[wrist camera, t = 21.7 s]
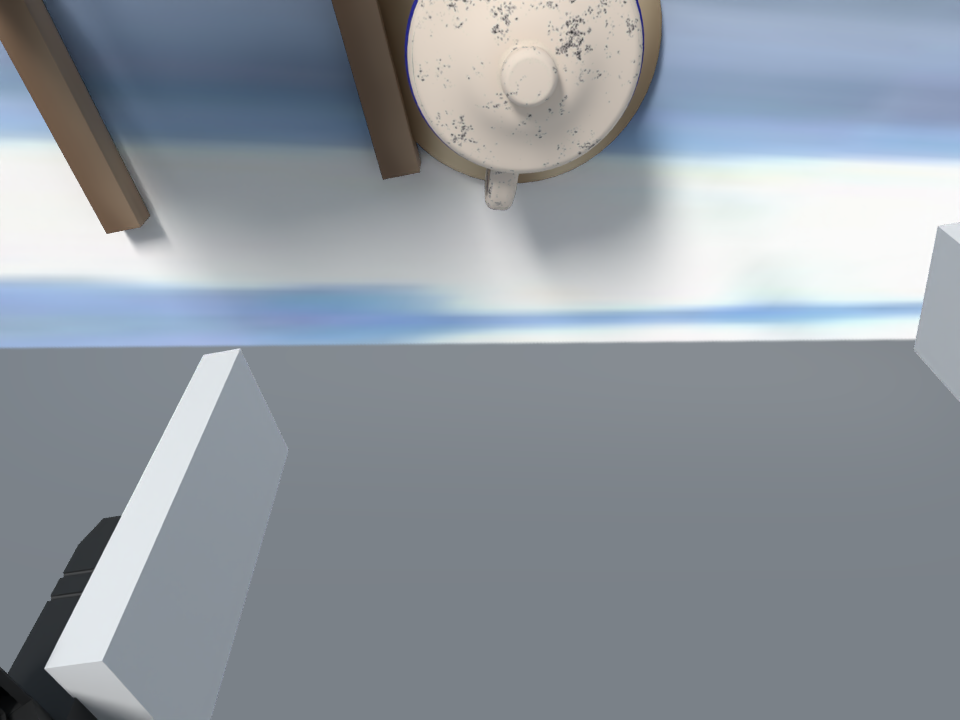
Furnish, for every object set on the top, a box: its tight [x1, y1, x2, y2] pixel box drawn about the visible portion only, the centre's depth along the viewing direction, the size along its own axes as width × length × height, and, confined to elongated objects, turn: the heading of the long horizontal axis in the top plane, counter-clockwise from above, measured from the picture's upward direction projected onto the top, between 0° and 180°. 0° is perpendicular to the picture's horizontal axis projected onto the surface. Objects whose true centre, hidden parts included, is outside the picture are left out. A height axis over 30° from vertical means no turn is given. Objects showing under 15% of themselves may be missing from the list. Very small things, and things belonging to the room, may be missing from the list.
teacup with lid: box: [405, 0, 644, 210], centre depth 30 cm, size 12×9×12 cm
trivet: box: [378, 0, 662, 183], centre depth 35 cm, size 14×14×1 cm
